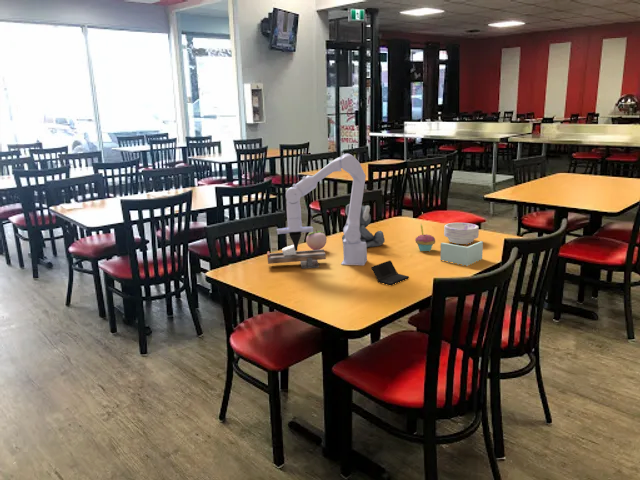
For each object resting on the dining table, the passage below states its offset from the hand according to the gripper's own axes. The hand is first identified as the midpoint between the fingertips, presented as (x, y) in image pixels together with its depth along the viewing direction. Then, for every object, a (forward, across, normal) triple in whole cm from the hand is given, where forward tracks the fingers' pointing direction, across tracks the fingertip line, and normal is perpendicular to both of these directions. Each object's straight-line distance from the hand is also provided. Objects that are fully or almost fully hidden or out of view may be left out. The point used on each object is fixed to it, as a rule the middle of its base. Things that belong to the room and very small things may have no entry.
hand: (296, 250), depth 209 cm
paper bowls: (+7, -76, -20) cm, 79 cm away
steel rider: (+2, +2, 0) cm, 3 cm away
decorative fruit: (+7, -10, -20) cm, 23 cm away
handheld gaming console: (+7, -33, +25) cm, 42 cm away
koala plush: (+7, -30, -26) cm, 41 cm away
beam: (+4, 0, 0) cm, 4 cm away
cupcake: (+7, -57, -10) cm, 58 cm away
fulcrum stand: (+6, -5, 0) cm, 8 cm away
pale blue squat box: (+7, -67, +7) cm, 67 cm away
